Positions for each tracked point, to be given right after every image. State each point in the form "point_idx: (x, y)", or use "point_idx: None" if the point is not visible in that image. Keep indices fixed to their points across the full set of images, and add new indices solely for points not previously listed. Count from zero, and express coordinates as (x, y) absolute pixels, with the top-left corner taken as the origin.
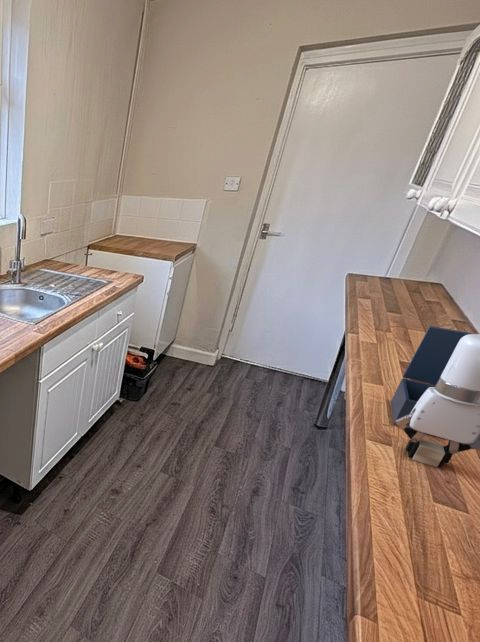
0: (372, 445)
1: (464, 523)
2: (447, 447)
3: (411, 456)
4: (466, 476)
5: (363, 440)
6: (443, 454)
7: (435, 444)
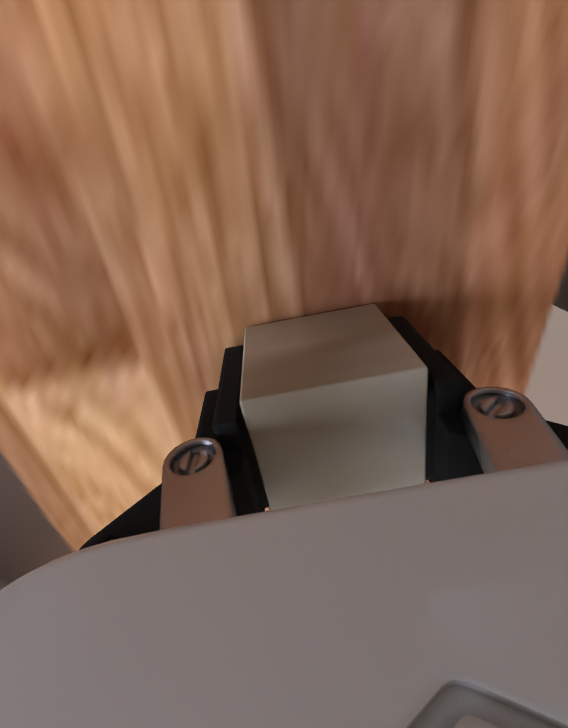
0: (69, 438)
1: None
2: (453, 471)
3: None
4: (509, 378)
5: (5, 421)
6: None
7: (370, 410)
